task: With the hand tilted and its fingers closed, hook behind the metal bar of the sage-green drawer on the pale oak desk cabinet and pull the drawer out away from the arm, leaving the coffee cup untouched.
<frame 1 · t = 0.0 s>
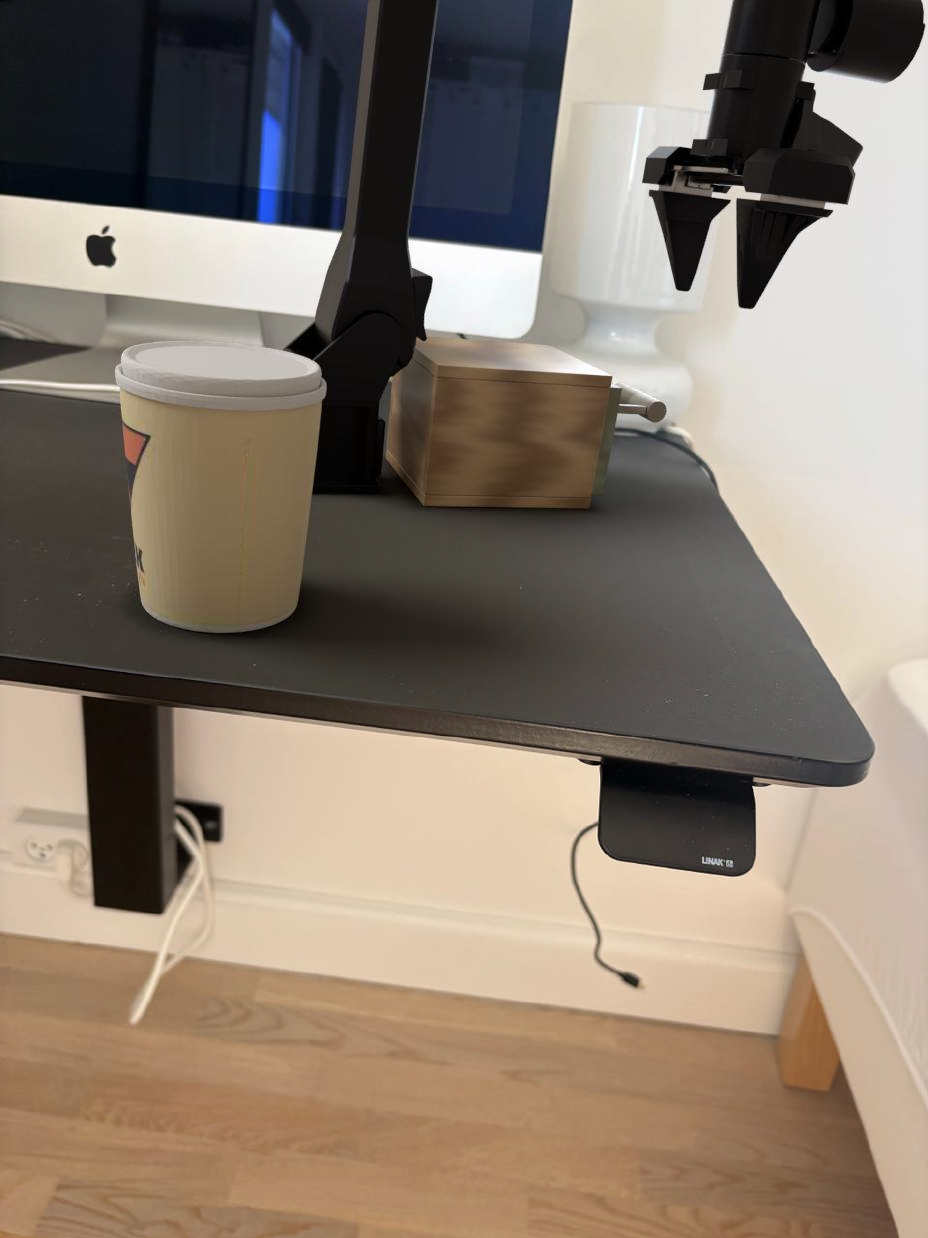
hand: (712, 299, 72), 15 cm above the table, tool pointing down, fingers open, 9 cm apart
drawer: (544, 422, 73), point 5 cm above the table, slide at 0.0 cm
cabinet: (483, 482, 73), on the table
coffee cup: (220, 603, 49), on the table
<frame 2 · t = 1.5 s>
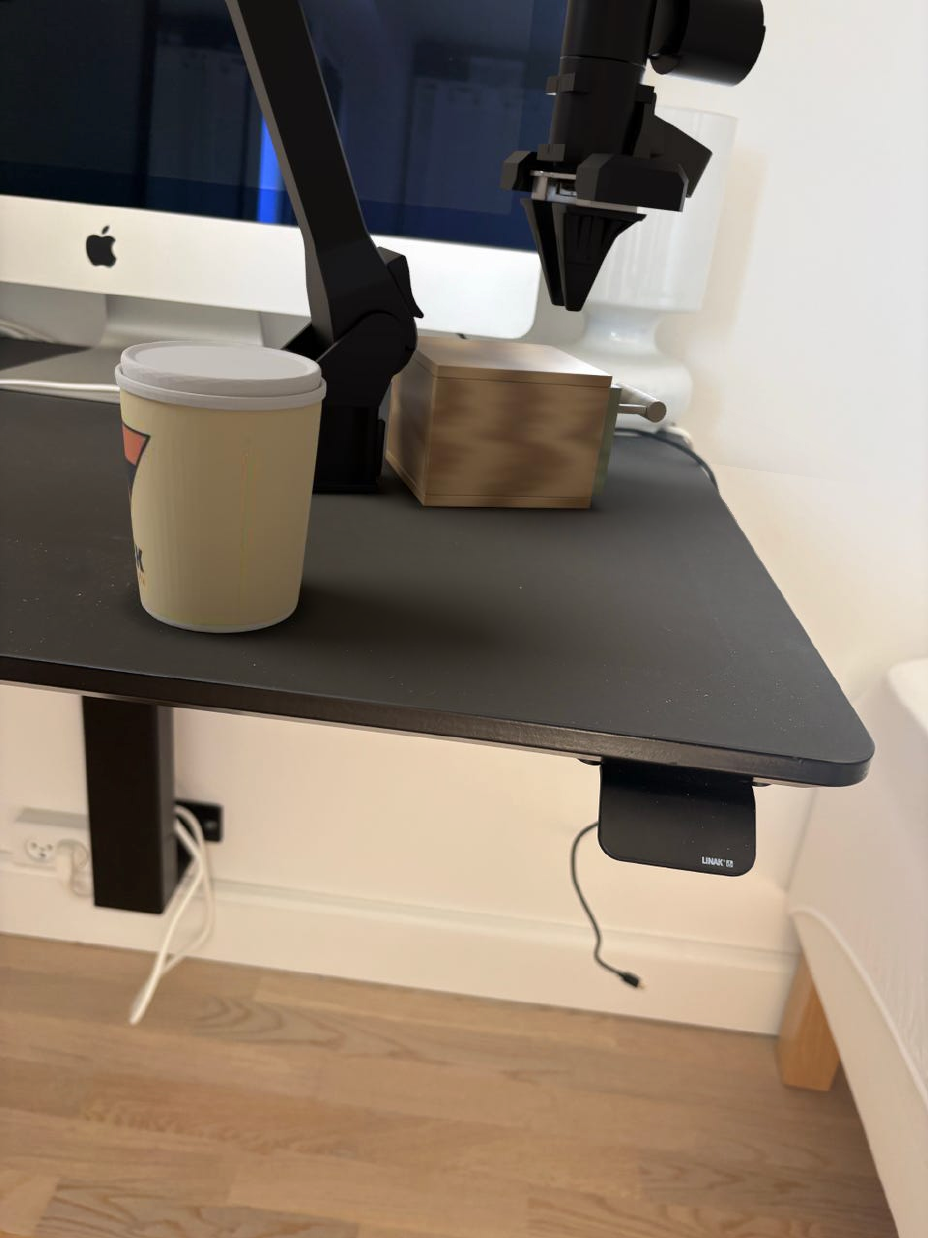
hand: (565, 308, 70), 13 cm above the table, tool pointing down, fingers closed
nothing on the table moved.
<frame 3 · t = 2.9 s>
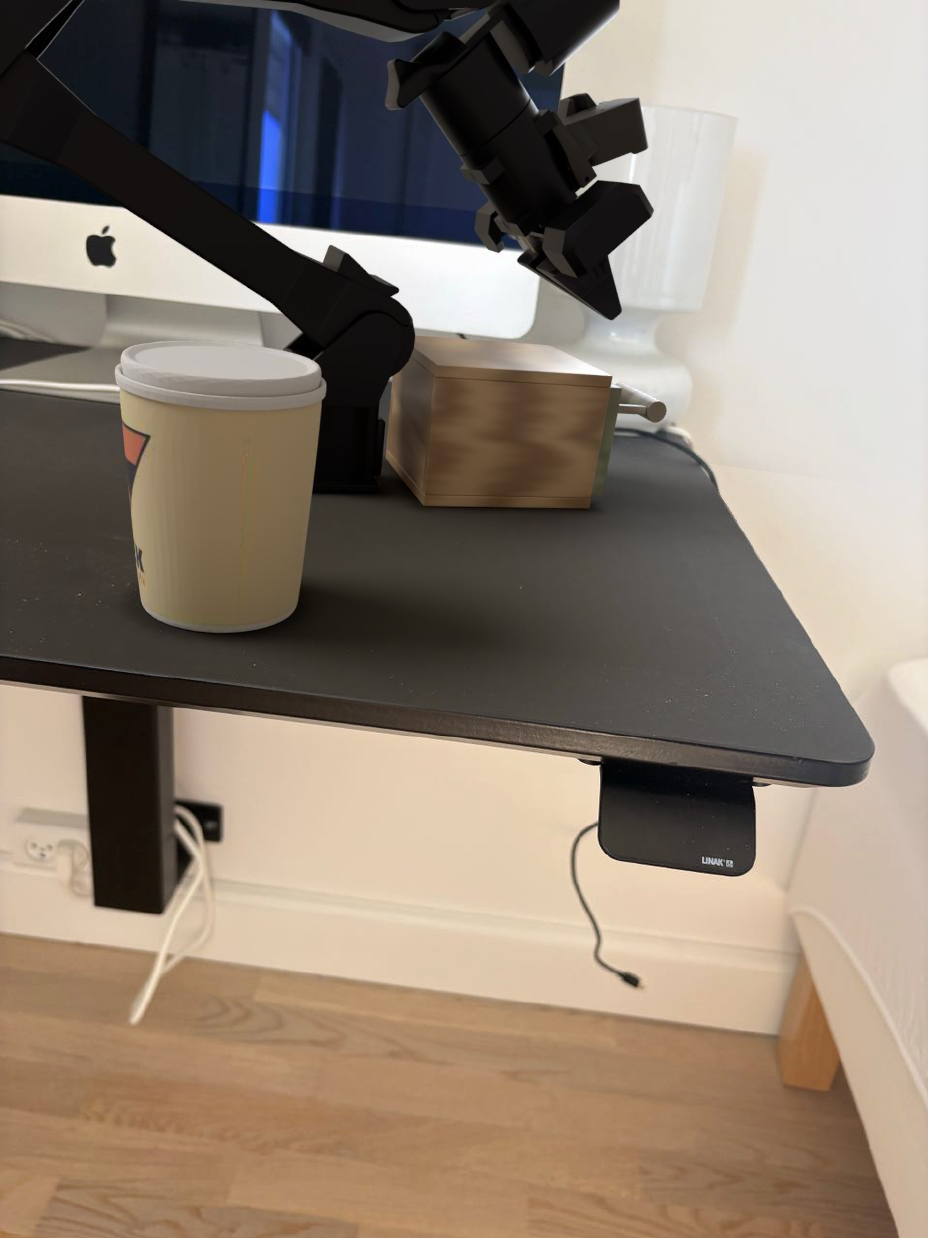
hand: (615, 315, 71), 13 cm above the table, tool tilted 45°, fingers closed
nothing on the table moved.
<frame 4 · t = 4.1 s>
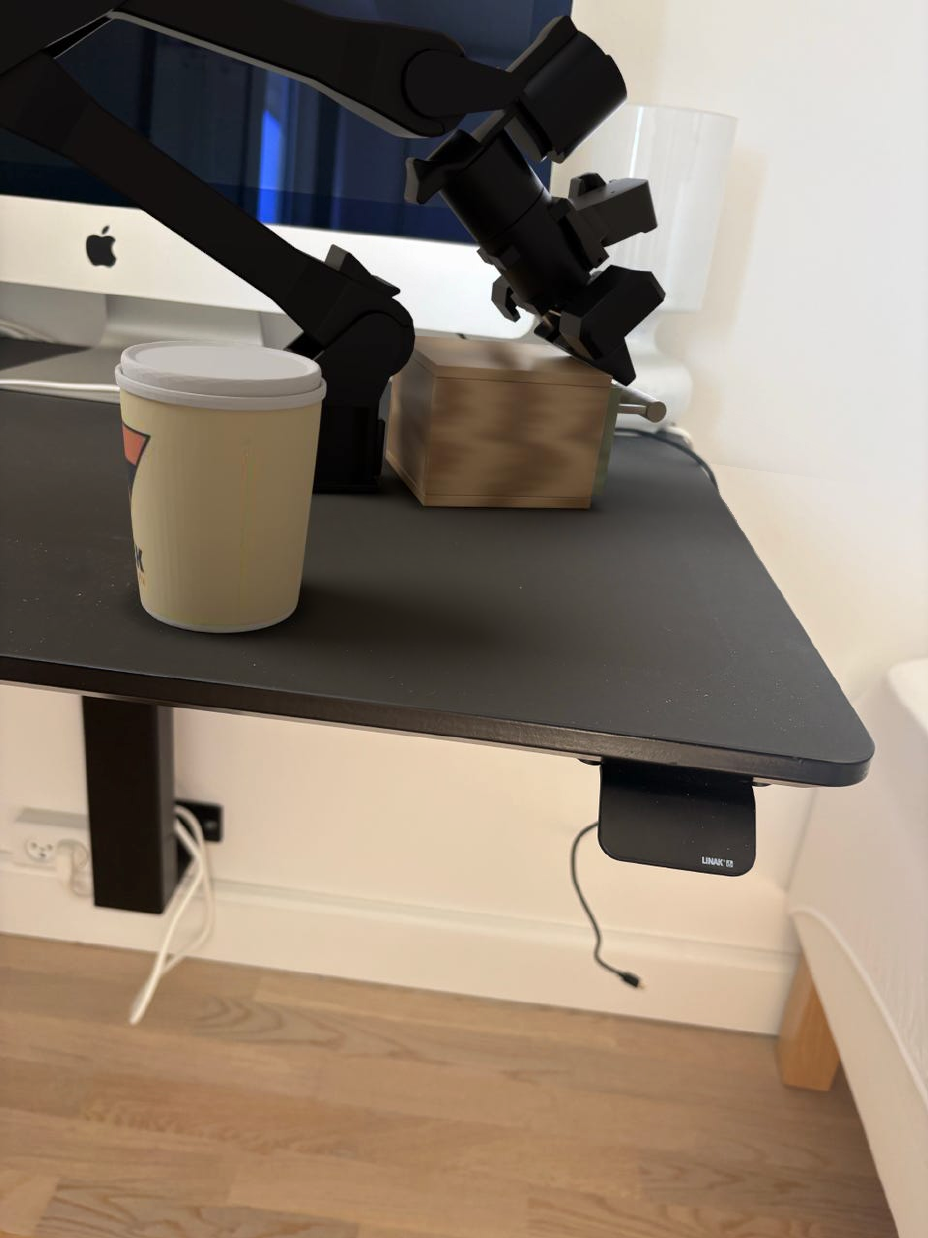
hand: (629, 381, 73), 8 cm above the table, tool tilted 45°, fingers closed, pressing on cabinet
nothing on the table moved.
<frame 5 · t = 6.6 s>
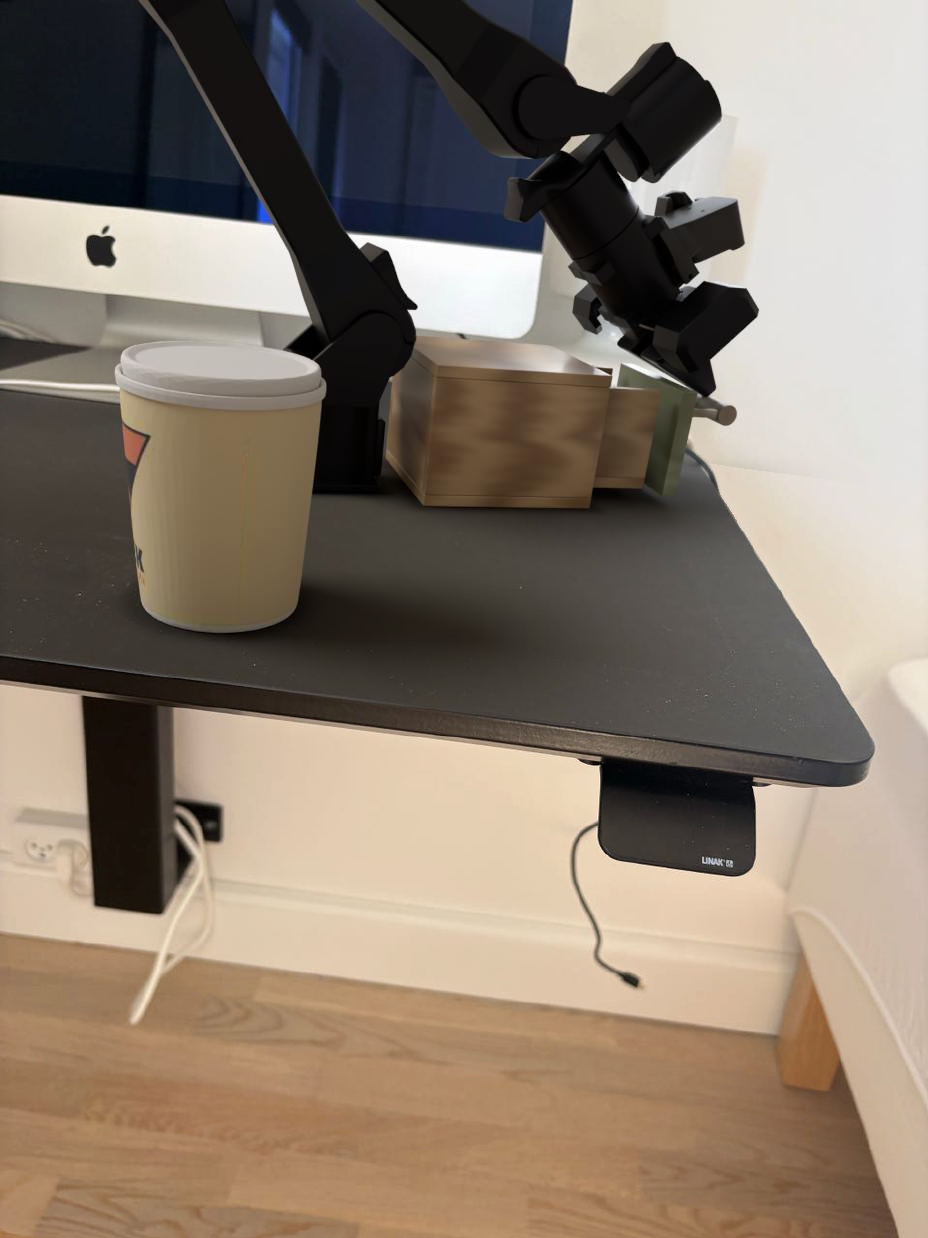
hand: (709, 392, 76), 8 cm above the table, tool tilted 45°, fingers closed, pressing on drawer
drawer: (616, 425, 75), point 5 cm above the table, slide at 6.1 cm, touching gripper
everything else where it was.
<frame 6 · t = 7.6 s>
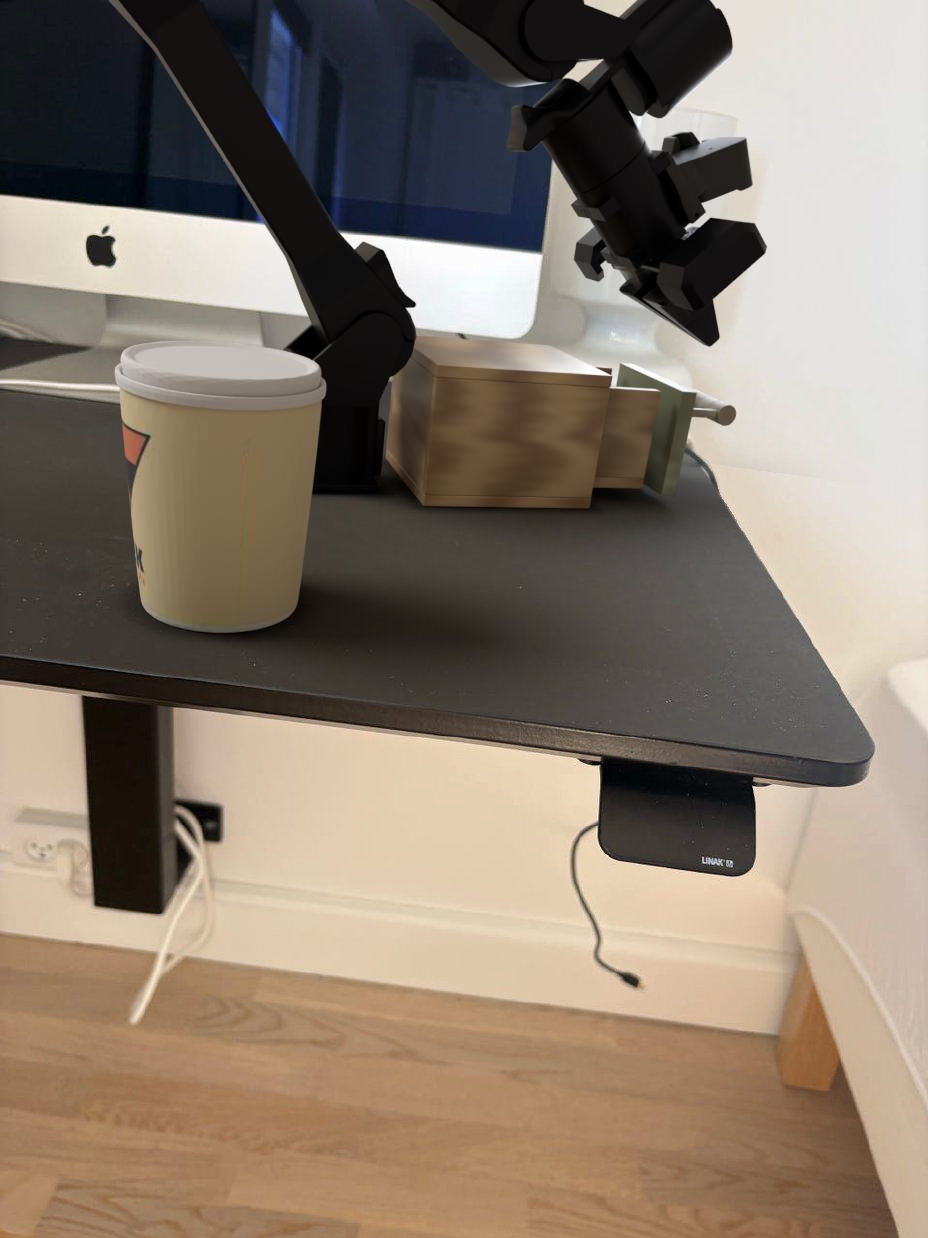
hand: (712, 341, 74), 12 cm above the table, tool tilted 45°, fingers closed
drawer: (616, 425, 75), point 5 cm above the table, slide at 6.0 cm
everything else where it was.
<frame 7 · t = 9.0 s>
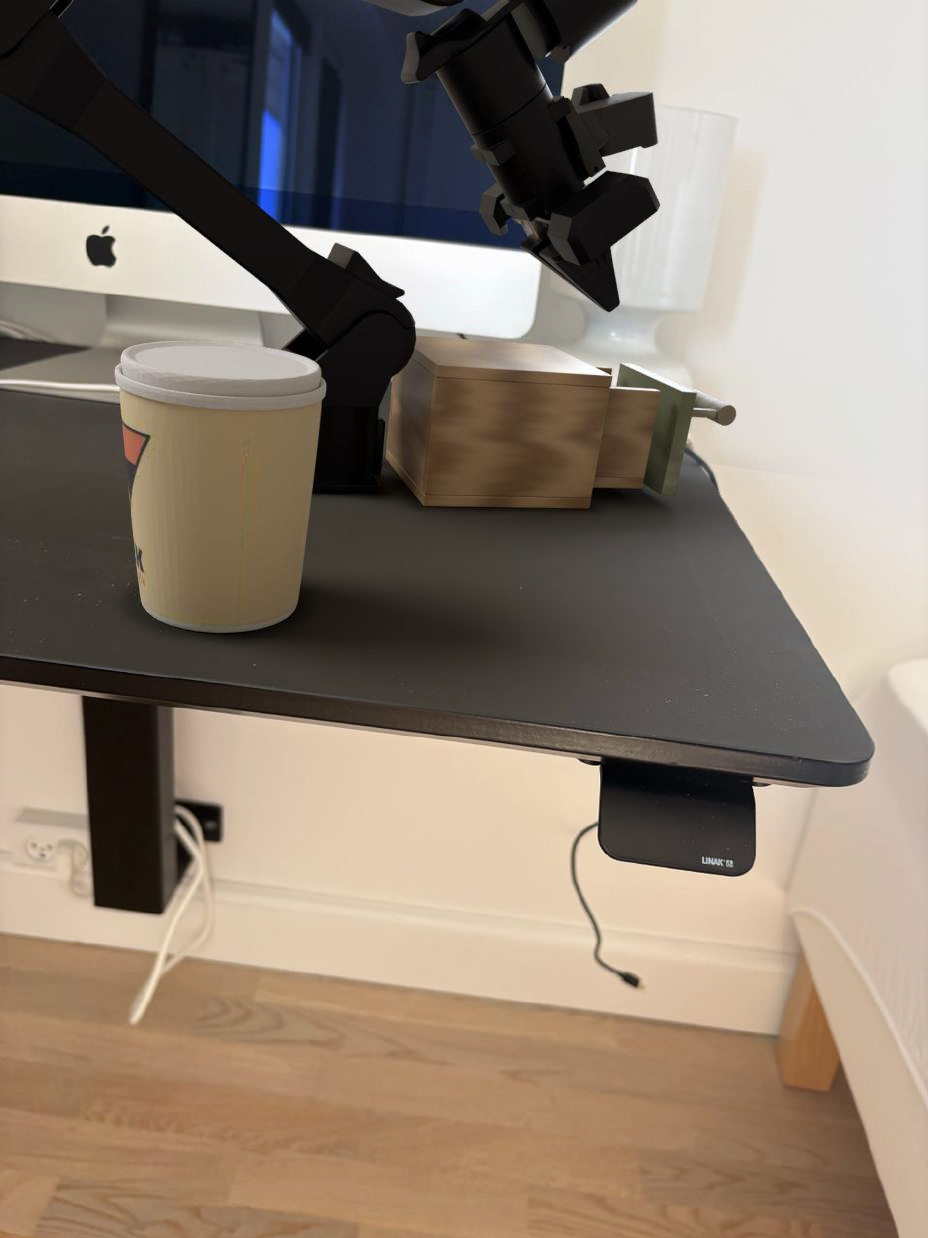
hand: (612, 307, 71), 13 cm above the table, tool tilted 40°, fingers closed
nothing on the table moved.
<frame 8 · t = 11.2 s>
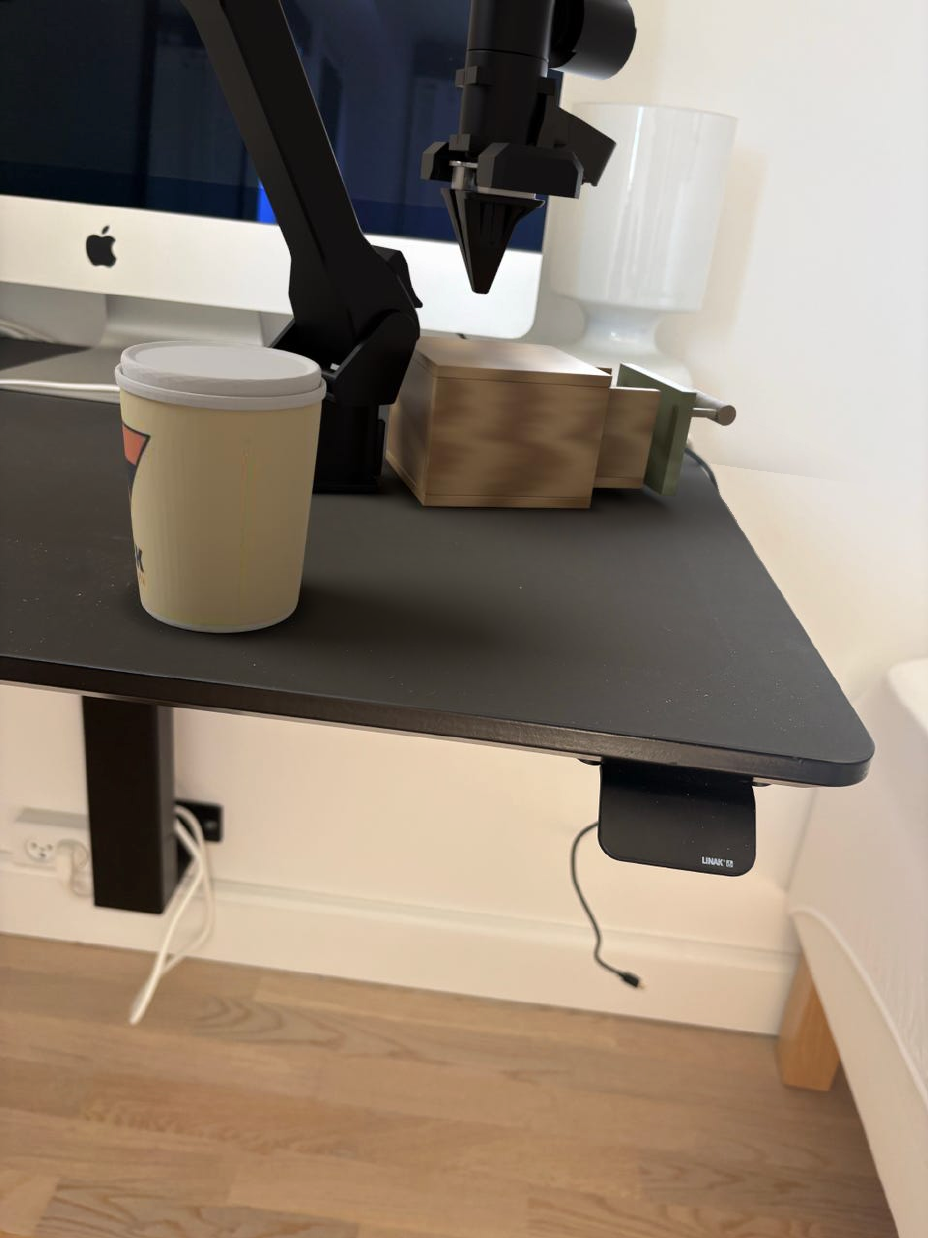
hand: (480, 293, 73), 13 cm above the table, tool pointing down, fingers closed
nothing on the table moved.
at the end: drawer slide at 6.0 cm; coffee cup moved 0.2 cm from its start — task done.
